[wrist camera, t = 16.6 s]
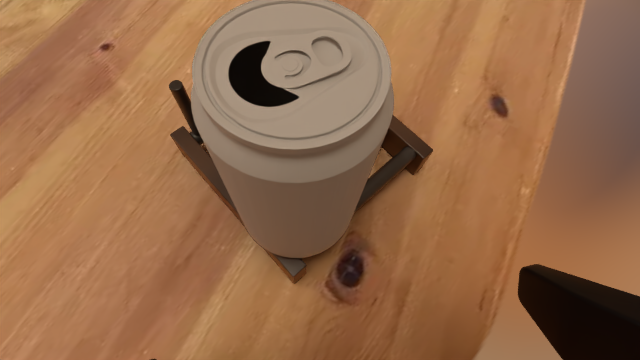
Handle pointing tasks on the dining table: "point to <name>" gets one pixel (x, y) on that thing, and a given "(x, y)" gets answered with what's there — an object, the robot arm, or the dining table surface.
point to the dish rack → (405, 155)
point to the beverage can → (293, 116)
